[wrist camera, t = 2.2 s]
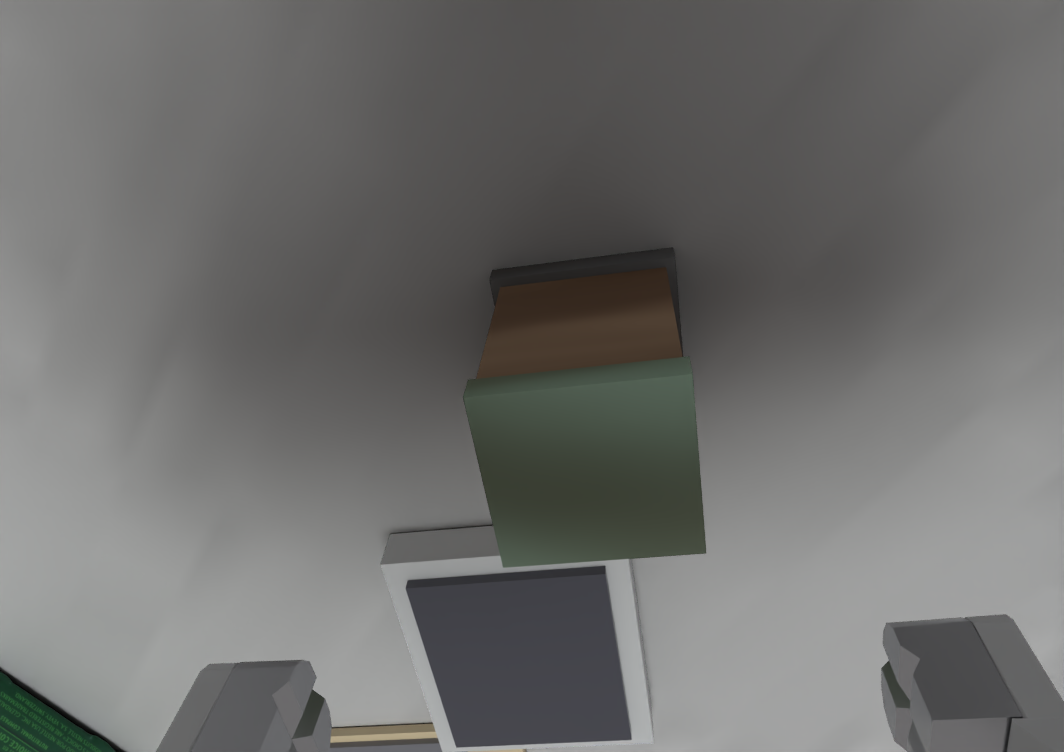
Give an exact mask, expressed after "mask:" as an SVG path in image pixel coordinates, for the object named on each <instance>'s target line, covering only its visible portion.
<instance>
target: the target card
mask: <svg viewBox="0 0 1064 752" xmlns="http://www.w3.org/2000/svg"><path fill="white" fill-rule="evenodd" d="M329 752H442V749H441V746H440V743H439V740H438V737H437V734H436V731H435V728H434V725H433V724H416V725H395V726H374V727H353V728H333V729H331V740H330V748H329ZM465 752H526V749H512V750H488V751H465Z"/></svg>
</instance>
